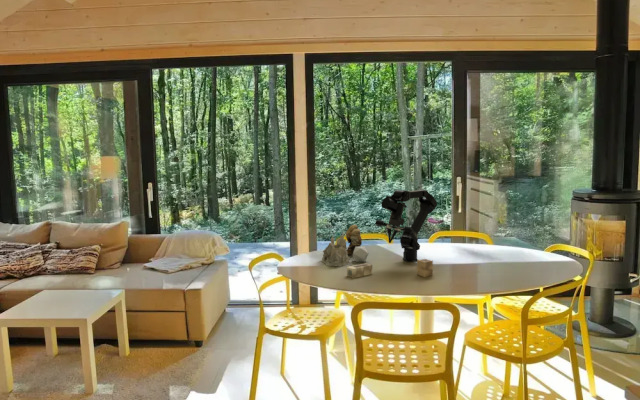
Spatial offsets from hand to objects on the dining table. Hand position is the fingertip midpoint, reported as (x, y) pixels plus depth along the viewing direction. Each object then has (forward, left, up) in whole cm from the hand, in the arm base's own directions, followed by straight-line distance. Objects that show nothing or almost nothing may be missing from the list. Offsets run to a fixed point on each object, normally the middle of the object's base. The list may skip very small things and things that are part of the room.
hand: (389, 242), depth 233 cm
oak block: (-7, +23, -12) cm, 26 cm away
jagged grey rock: (+24, -17, -12) cm, 32 cm away
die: (+10, -14, -12) cm, 21 cm away
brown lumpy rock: (+5, -32, -12) cm, 35 cm away
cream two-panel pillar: (+16, +9, -10) cm, 21 cm away
